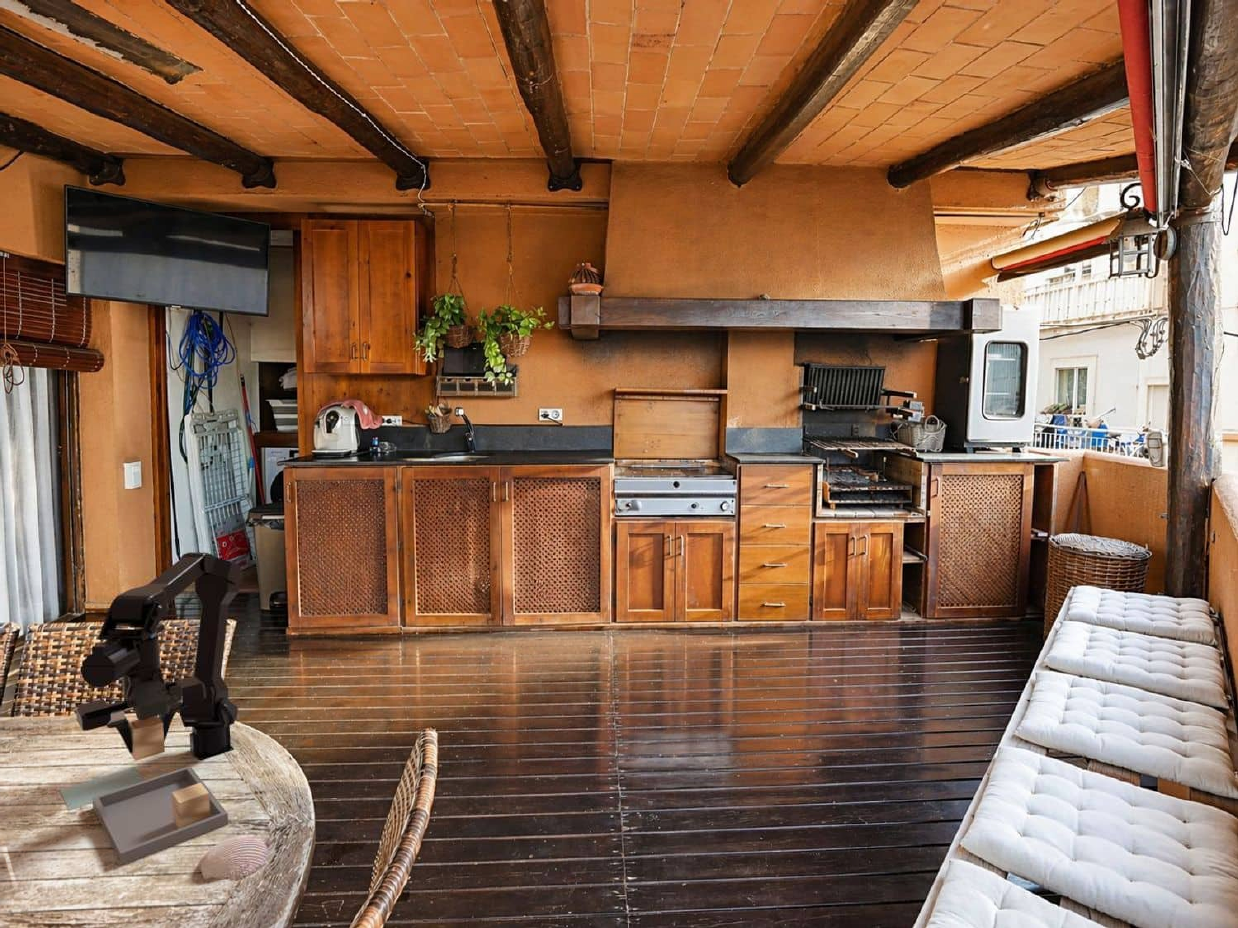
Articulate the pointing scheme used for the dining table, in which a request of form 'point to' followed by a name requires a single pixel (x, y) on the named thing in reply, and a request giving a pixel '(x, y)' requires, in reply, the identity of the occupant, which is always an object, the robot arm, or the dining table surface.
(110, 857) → the dining table surface
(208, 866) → the seashell
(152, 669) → the robot arm
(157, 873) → the dining table surface
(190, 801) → the plain block
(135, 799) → the parts bin
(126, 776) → the mat
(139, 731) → the labelled block
